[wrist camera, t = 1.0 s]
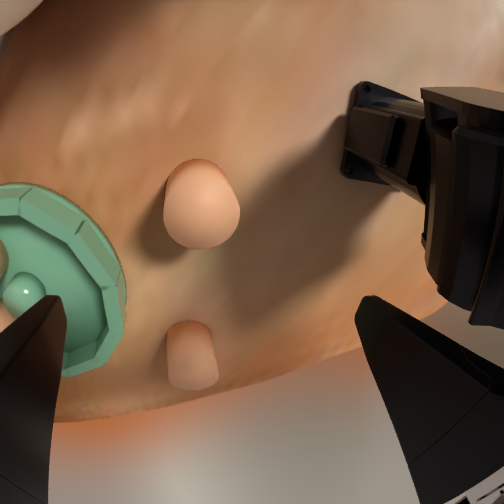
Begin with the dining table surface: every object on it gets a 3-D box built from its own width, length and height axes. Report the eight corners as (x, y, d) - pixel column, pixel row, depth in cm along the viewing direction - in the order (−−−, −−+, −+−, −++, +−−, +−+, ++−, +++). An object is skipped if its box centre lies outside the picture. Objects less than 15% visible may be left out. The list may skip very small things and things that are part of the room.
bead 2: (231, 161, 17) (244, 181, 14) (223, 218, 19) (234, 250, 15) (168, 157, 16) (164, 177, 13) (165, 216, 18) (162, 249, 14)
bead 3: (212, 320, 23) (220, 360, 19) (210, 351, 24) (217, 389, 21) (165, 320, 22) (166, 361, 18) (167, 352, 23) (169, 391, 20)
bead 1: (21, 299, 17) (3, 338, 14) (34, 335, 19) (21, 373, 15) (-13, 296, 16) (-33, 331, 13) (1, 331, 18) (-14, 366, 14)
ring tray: (120, 178, 16) (112, 194, 14) (136, 357, 23) (135, 382, 21) (-58, 189, 12) (-78, 204, 10) (-8, 344, 19) (-16, 364, 17)
